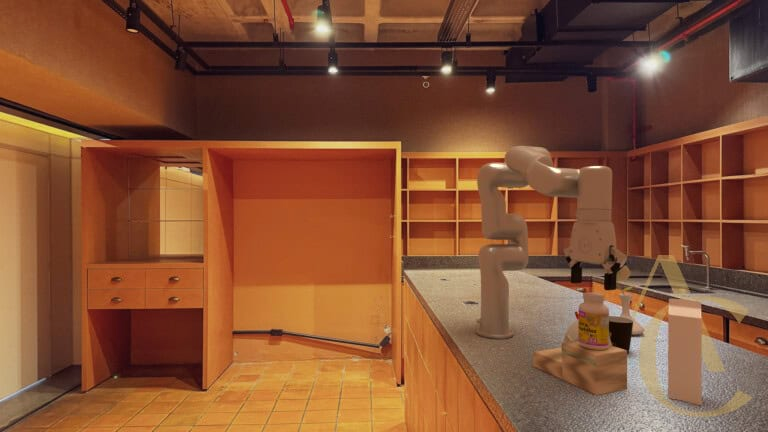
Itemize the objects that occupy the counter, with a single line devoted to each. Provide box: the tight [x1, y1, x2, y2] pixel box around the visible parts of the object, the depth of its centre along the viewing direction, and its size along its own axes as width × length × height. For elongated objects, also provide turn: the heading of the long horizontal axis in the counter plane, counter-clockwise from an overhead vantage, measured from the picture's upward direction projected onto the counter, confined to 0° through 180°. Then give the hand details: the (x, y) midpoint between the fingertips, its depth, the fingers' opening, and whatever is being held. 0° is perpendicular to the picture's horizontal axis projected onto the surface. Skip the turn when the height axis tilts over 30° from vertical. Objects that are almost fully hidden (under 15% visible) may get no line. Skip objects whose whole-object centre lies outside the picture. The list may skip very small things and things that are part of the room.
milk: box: [667, 298, 703, 406], centre depth 92 cm, size 6×6×22 cm
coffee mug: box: [609, 315, 633, 356], centre depth 126 cm, size 12×9×10 cm
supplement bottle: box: [578, 292, 610, 350], centre depth 100 cm, size 7×7×13 cm
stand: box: [532, 341, 628, 396], centre depth 104 cm, size 20×10×9 cm, turn 22°
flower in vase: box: [604, 265, 645, 336], centre depth 147 cm, size 13×11×25 cm
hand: (592, 286), depth 100 cm, fingers open, 9 cm apart
